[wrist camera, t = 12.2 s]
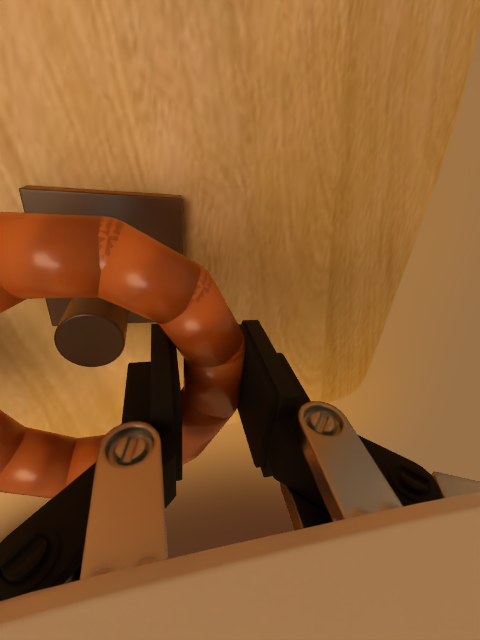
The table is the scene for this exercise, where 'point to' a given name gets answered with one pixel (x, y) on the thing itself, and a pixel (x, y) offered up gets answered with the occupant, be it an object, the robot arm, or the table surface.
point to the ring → (131, 294)
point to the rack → (95, 313)
